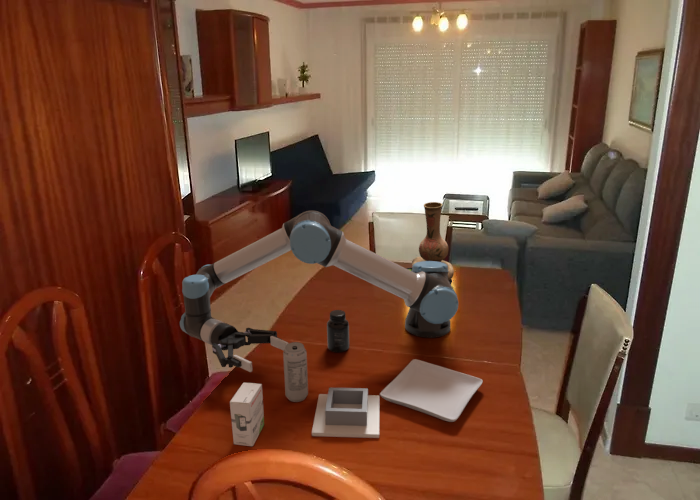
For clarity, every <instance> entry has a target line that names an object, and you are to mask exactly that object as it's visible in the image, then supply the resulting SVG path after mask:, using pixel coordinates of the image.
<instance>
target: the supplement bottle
mask: <svg viewBox="0 0 700 500" xmlns="http://www.w3.org/2000/svg"><path fill="white" fill-rule="evenodd" d="M349 323H350V322H349V321H348V320H347V319H346V312H345V311H344V310H341V309H334V310H332V311H330V313H329V319H328V321H327V322H326V333H327V334H326V336H327V337H326V339H327V340H326V341H327V349H328V351H330V352H332V353H344V352H346V351H347V350H349V348H350V324H349Z"/></svg>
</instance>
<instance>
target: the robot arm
mask: <svg viewBox="0 0 700 500" xmlns="http://www.w3.org/2000/svg"><path fill="white" fill-rule="evenodd" d="M290 251H291V252H292V254H293V255H294V257H295V258H297V260H299V261H301V262H302V263H304V264H309V265H310V264H311V265H314V264H318V265H319V266H320V265H321V266H322V267H325V268H327V267H331V266H333V267H334V266H335V267H336V268H338V269H340V270H343V271H344V272H347V273H348V274H351V275H353V276H355V277H357V278H359V279H361V280H363V281H366V282H367V283H369V284H371V285H373V286H375V287H378V288H380V289H382V290H384V291H386V292H388V293H390V294H393V295H395V296H396V297H399V298H401V299H403V301H404V304H405V306H406V307H407V308H409V309H408V311H407V314H406V318H405V322H404V328H405V330H406V331H407V332H408V333H409V334H412V335H413V336H416V337H421V338H426V339H427V338H428V339H429V338H430V339H431V338H432V339H433V338H440V337H444V336H445V335H448V333H450V331H451V319H452V318H453V317H454V316H455V315H456V313H457V312H458V310H459V299H458V295H457V293H456V291H455V290H454V287H453V286H452V283H451V284H450V282H449V281H448V272H449V271H448V266H447V265H446V264H445V263H442V262H437V261H421V262H417V263H415V264H413V266H412V265H411V268H412V271H410V270H408V269H406V268H407V267H404V266H402V265H400V264H398V263H396V262H393V261H392V260H389V259H387V258H386V257H383V256H381V255H380V254H377V253H375V252H373V251H372V250H369V249H367V248H365V247H363V246H361V245H359V244H357V243H354V242H353V241H351V240H349V239H347V238H346V236H345V233H344V231H342V230H341V229H339V228H336V227H335V226H332V225H331V223H330V220H329V219H328V217H327V216H326V215H325V214H324V213H322V212H320V211H317V210H306V211H303V212H302V213H299V214H297V215H296V216H295V217H293V218H291V219H290V220H288V221H285V222H284V223H283V224H282V226H281V228H279V229H277V230H275V231H273V232H272V233H269V234H268V235H265V236H264V237H262V238H260V239H258V240H257V241H255V242H252V243H251V244H248V245H247V246H245V247H243V248H241V249H239V250H237V251H235V252H233V253H231V254H229V255H227V256H225V257H223V258H221V259H219V260H217V261H216V262H214V263H212V264H205V265H203V266H201V268H199V269H198V271H197V272H196V274H192V275H188V276H185V277H184V278H183V280H182V282H181V284H182V289H181V292H182V296H183V305H184V313H183V314H182V315H181V317H180V321H179V327H180V329H181V331H182V332H184V333H185V334H187V335H188V336H189V337H191V338H195V339H198V340H200V341H203V343H206V344H209V345H211V347H212V349H211V350H212V353H213V354H214V355H215V356H216V357H217V360H218V361H219V363H220V365H221V367H222V368H225V367H227V365H228V368H231V369H232V368H234V367H235V368H241V369H242V370H244V371H247V372H249V373H252V372H253V362H252V361H251V360H248V359H246V358H243V357H242V356H239V355H237V354H234V350H239V349H240V348H241V347H244V346H250V345H252V344H254V345H255V344H256V345H257V344H258V345H259V344H260V345H262V344H270V346H272V347H274V348H277V349H278V350H282V351H283V352H284V350H285V346H286V345H287V344H289V342H288V341H285V340H283V339H282V338H280V337H278V332H277V330H270V329H269V330H266V329H259V328H258V329H255V328H251V327H246V328H245V331H244V332H243V331H239V330H238V329H237V328H236V327H235V326H234V325H231V324H228V323H227V322H225V321H222V320H219V319H217V318H214V317H213V316H212V309H211V297H212V295H213V293H214V291H215V290H216V289H217V288H219V287H221V286H224V285H225V284H227V283H229V282H231V281H234V280H235V279H237V278H239V277H241V276H243V275H245V274H247V273H249V272H251V271H253V270H255V269H256V268H259V267H261V266H263V265H265V264H267V263H268V262H271V261H272V260H276V259H277V258H279V257H280V256H283V255H285V254H286V253H288V252H290ZM452 287H453V288H452ZM223 351H227V357H226V356H225V353H224V352H223Z"/></svg>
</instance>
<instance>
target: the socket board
mask: <svg viewBox="0 0 700 500" xmlns="http://www.w3.org/2000/svg"><path fill="white" fill-rule="evenodd" d="M380 397H381V396H380V394H379V395H374V394H373V395H372V394H369V389H368V388H367V387H366V388H364V387H363V388H361V387H328V392H327V393H319V394H318V399H317V404H316V409H315V414H314V418H313V423H312V424H313V425H312V429H311V437H334V438H336V437H337V438H364V439H366V438H369V439H379V438H380Z"/></svg>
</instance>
